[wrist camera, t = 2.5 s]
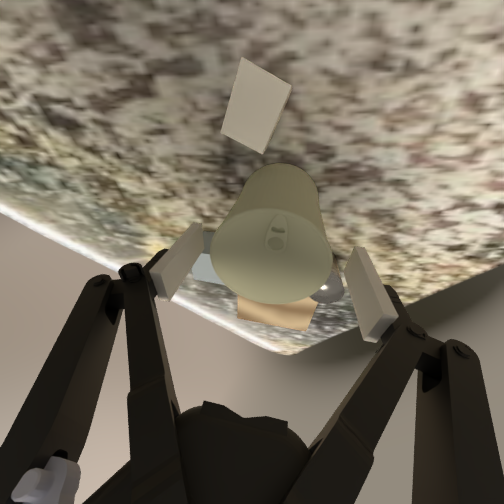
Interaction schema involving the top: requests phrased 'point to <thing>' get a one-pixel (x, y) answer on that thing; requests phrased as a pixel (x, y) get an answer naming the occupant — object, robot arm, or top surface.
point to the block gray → (205, 263)
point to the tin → (330, 286)
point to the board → (278, 312)
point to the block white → (255, 106)
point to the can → (273, 238)
